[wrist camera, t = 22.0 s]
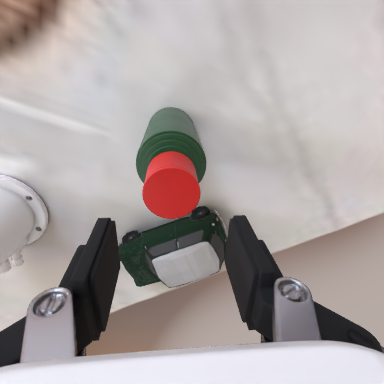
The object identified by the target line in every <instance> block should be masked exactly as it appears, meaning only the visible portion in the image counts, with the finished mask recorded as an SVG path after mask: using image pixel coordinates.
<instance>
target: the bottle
mask: <svg viewBox="0 0 384 384" xmlns="http://www.w3.org/2000/svg"><path fill="white" fill-rule="evenodd" d="M168 151H174V152H179V153H182V154H184V155H185V156H187V157H188V158H189V159H190V160H191V161H192V163H193V164H194V166H195V170H196V174H197V178H198V183H200V181H201V180H202V178H203V176H204V174H205V170H206V157H205V154H204V151H203V148H202V146H201V143H200V140H199V138H198V135H197V132H196V130H195V127H194V125H193V122H192V120H191V118H190V117H189V116H188V115H187V114H186V113H185V112H184V111H182V110H180V109H178V108H172V107H171V108H164V109H161V110H159V111H158V112H156V113H155V114H154V115H153V117H152V118H151V120H150V122H149V125H148V127H147V130H146V133H145V135H144V138H143V140H142V143H141V146H140V148H139V151H138V154H137V158H136V167H137V172H138V175H139V177H140V179H141V180H142V182H143V183H144V182H145V177H146V173H147V169H148V166H149V164H150V162H151V161H152V159H153V158H154V157H156V156H157V155H159V154H161V153H164V152H168Z"/></svg>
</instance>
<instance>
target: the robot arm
mask: <svg viewBox="0 0 384 384" xmlns="http://www.w3.org/2000/svg"><path fill="white" fill-rule="evenodd" d="M47 224H48V212H47V209H46V206H45V204H44V203H43V201H42V199H41V198H40V197H39V196H38V194H37V193H36V192H35V191H33V190H32V189H31V188H30V187H28V186H27V185H26V184H24V183H22V182H20V181H18V180H17V179H14V178H11V177H9V176H5V175H0V273H5V272H7V271H9V270H10V269H11V264H10V262H9V259H8V258H9V257H10V256H11V260H12V262H13V265H14V266H19V265H21V264H22V263H23V262H24V261H23V258H22V255H21V254H20V251H21V249H22V248H23V247H24V246H25V245H28V244H30V243H32V242H34V241H36V240H37V239H38V238H39V237H40V236H41V235H42V234H43V232H44V231H45V229H46V227H47ZM225 265H226V269H227V272H228V275H229V278H230V282H231V285H232V289H233V292H234V295H235V299H236V302H237V305H238V308H239V312H240V315H241V319H242V321H243V322H246V323H247V326H248V329H249V330H256V331H257V332H259V333H260V334H261V343H255V344H240V345H225V346H211V347H197V348H185V349H170V350H156V351H143V352H130V353H117V354H105V355H92V356H86V346H87V345H89V344H90V343H91V342H92V341H96V340H99V337H100V333H101V332H102V331H105V330H106V326H107V321H108V317H109V313H110V309H111V304H112V300H113V296H114V291H115V287H116V283H117V279H118V274H119V270H120V257H119V249H118V241H117V233H116V225H115V221H111V218H98V220H97V222H96V224H95V226H94V228H93V230H92V233H91V235H90V237H89V239H88V241H87V244H86V245H80V246H79V247H78V248H77V250H76V252H75V254H74V256H73V258H72V260H71V262H70V264H69V266H68V268H67V270H66V272H65V274H64V276H63V278H62V280H61V282H60V285H59V287H55V288H51V289H48V290H45V291H43V292H42V293H40V294H38V295H37V296H36V297H35V298H34V299H33V300H32V301H31V303H30V304H29V306H28V309H27V316H25V317H24V318H22V319H21V320H19V321H17V322H16V323H14V324H12V325H11V326H9V327H8V328H6V329H4V330H3V331H1V332H0V384H384V348H383V347H382V346H381V345H380V343H379V342H378V341H377V339H376V338H375V337H374V336H373V335H372V334H371V333H370V332H368V331H367V330H366V329H364V328H362V327H361V326H359V325H357V324H355V323H353V322H351V321H350V320H348V319H346V318H344V317H342V316H340V315H338V314H337V313H335V312H333V311H331V310H329V309H327V308H325V307H323V306H322V305H320V304H318V303H316V302H314V301H313V300H312V295H311V292H310V290H309V289H308V287H307V286H306V285H305V284H304V283H302V282H301V281H299V280H297V279H294V278H291V277H283V275H282V273H281V272H280V270H279V268H278V266H277V264H276V263H275V261H274V259H273V257H272V255H271V254H270V252H269V250H268V248H267V246H266V245H265V243H264V241H263V240H258V238H257V236H256V235H255V233H254V231H253V229H252V227H251V225H250V223H249V221H248V220H247V218H246V216H245V215H242V216H234V217H233V218H231V219H230V222H229V230H228V237H227V245H226V253H225Z"/></svg>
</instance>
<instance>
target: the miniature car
mask: <svg viewBox="0 0 384 384" xmlns="http://www.w3.org/2000/svg"><path fill="white" fill-rule="evenodd" d="M213 211H214V212H216V214H217V215H218V216H217V215H216V214H214V213H212V212H211V213H210V211H209V209H208V208H207V207H205V206H202V207H198V208H196V209H194V210H193V211H192V215H191V217H192V218H189V217H184V218H181V219H178V220H175V221H172V222H170V223H167V224H164V225H161V226H158V227H155V228H152V229H149V230H146V231H143V232H142V233H143V234H141V233H140V234H141V235H140V234H139V233H138V231H131V232H128V233H127V234H126V235H125V236H124V237H123V238H122V243H123V244H122V243H121V244H120V243H119V245H118V249H119V257H120V261H122V263H123V265H124V267H125V269H126V270H127V271H128V273H129V274H130V275H131V276H132V277H133V279H134V281H135V284H136V286H140V287H141V286H145V285H148V284H152V283H156V282H160V281H161V282H162V283H163V284H165V285H166V286H168V287H169V288H171V287H177V286H181V285H184V284H187V283H190V282H193V281H196V280H199V279H202V278H205V277H207V276H209V275H212V274H214V273H217V272H219V270H220V268H221V266H222V263H223V261H224V260H225V253H226V245H227V237H228V232H227V229H226V226H225V224H224V222H223V220H222V218H221V216H220V215H219V213H218V212H217V210H215V209H214V210H213ZM219 218H220V219H219ZM220 220H221V221H220ZM221 222H222V223H221ZM224 229H225V230H224Z"/></svg>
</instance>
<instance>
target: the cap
mask: <svg viewBox="0 0 384 384" xmlns="http://www.w3.org/2000/svg"><path fill="white" fill-rule="evenodd" d="M142 194H143V200H144V202H145V204H146V206H147V207H148V209H149V210H150V211H151V212H153V213H154V214H156V215H157V216H160V217H163V218H168V219H175V218H180V217H183V216H185V215H187V214H189V213H190V212H191V211H193V210H194V208H195V207H196V206H197V204H198V202H199V199H200V187H199V183H198V178H197V174H196V170H195V166H194V164H193V163H192V161H191V160H190V159H189V158H188V157H187V156H185V155H184V154H182V153H179V152H174V151H168V152H164V153H161V154H159V155H157V156H156V157H154V158H153V159H152V161H151V162H150V164H149V166H148V169H147V173H146V177H145V182H144V186H143V193H142Z"/></svg>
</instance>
